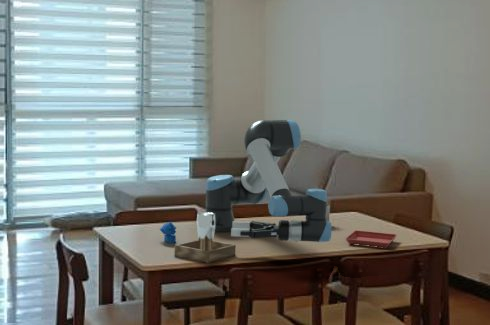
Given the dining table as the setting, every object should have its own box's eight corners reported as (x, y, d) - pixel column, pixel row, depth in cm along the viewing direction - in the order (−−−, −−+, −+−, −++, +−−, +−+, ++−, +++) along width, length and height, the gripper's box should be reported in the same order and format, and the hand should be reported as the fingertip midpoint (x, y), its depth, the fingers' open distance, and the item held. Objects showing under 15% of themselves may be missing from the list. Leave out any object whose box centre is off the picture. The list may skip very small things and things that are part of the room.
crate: (174, 255, 280) (174, 245, 280) (202, 248, 293) (202, 238, 293) (207, 262, 271) (208, 251, 270) (235, 255, 283) (235, 244, 283)
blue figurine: (171, 222, 311) (183, 220, 301) (172, 242, 310) (184, 241, 300) (155, 223, 307) (167, 222, 298) (156, 244, 307) (168, 243, 297)
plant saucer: (389, 250, 301) (389, 242, 301) (344, 246, 308) (345, 238, 307) (397, 242, 318) (397, 234, 318) (354, 237, 325) (355, 230, 324)
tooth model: (195, 251, 285) (196, 211, 283) (214, 251, 286) (215, 212, 284) (196, 255, 278) (196, 215, 276) (215, 255, 279) (216, 215, 277)
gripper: (290, 247, 268) (230, 246, 269) (287, 233, 293) (232, 231, 293) (291, 227, 268) (230, 225, 268) (288, 214, 292) (233, 212, 293)
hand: (231, 228), depth 281 cm, fingers open, 13 cm apart
